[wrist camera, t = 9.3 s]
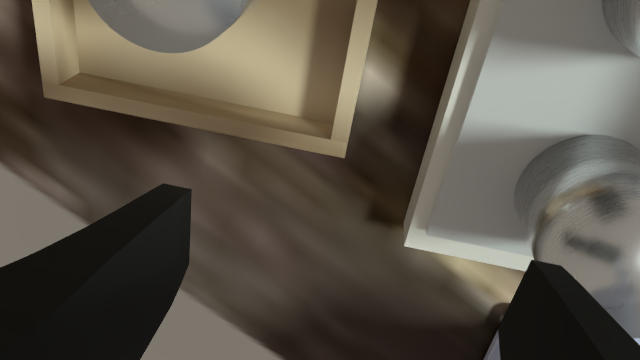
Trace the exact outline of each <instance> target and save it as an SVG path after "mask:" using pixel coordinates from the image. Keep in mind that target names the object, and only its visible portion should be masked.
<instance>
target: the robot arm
mask: <svg viewBox="0 0 640 360" xmlns="http://www.w3.org/2000/svg"><path fill="white" fill-rule="evenodd" d="M191 191H192V189H187V188H183V187H178V186H173V185H168V184H162V185H160V186H158V187H156V188H154V189H152V190H151V191H149V192H147V193H145V194H144V195H142V196H140V197H139V198H137V199H135V200H133V201H132V202H130V203H128V204H126V205H125V206H123V207H121V208H120V209H118V210H116V211H114V212H112V213H111V214H109V215H107V216H105V217H103V218H102V219H100V220H98V221H96V222H94V223H93V224H91V225H89V226H87V227H85V228H84V229H81V230H79V231H77V232H75V233H73V234H71V235H70V236H67V237H65V238H63V239H61V240H60V241H57V242H55V243H53V244H52V245H50V246H47V247H45V248H44V249H42V250H39V251H38V252H35V253H33V254H31V255H29V256H27V257H24V258H22V259H20V260H17V261H15V262H13V263H10V264H8V265H6V266H3V267H1V268H0V360H140V359H141V357H142V355H143V353H144V352H145V350H146V348H147V346H148V345H149V343H150V341H151V340H152V338H153V336H154V335H155V333H156V331H157V329H158V328H159V326H160V324H161V323H162V321H163V319H164V317H165V316H166V314H167V312H168V310H169V309H170V307H171V305H172V303H173V301H174V298H175V296H176V294H177V292H178V289H179V287H180V285H181V282H182V280H183V277H184V275H185V272H186V270H187V268H188V265H189V249H190V220H191ZM483 360H640V338H634V339H633V338H632V337H631V336H630V335H629V334H628V333H627V332H626V331H625V330H624V329H623V328H622V327H621V326H620V325H619V323H618V322H617V321H616V320H615V319H614V318H613V317H612V316H611V315H610V314H609V313H608V312H607V311H606V310H605V309H604V308H603V307H602V306H601V305H600V304H599V303H598V302H597V301H596V300H595V298H594V297H593V296H592V295H591V294H590V293H589V292H588V291H587V290H586V289H585V288H584V287H583V286H582V285H581V284H580V283H579V282H578V281H577V280H576V279H575V278H574V277H573V276H572V275H571V274H570V273H569V272H568V271H567V270H565V269H564V268H563V267H562V266H561V265H556V264H551V263H546V262H541V261H536V260H531V262H530V264H529V266H528V268H527V270H526V272H525V274H524V276H523V278H522V280H521V282H520V285H519V287H518V289H517V291H516V293H515V295H514V297H513V299H512V301H511V303H510V305H509V307H508V309H507V311H506V314H505V316H504V318H503V320H502V322H501V324H500V326H499V328H498V330H497V332H496V334H495V337H494V339H493V341H492V343H491V345H490V347H489V349H488V351H487V353H486V355H485V357H484V359H483Z"/></svg>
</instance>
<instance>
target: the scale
mask: <svg viewBox="0 0 640 360" xmlns="http://www.w3.org/2000/svg"><path fill="white" fill-rule="evenodd" d="M583 135H606V136H612V137H616V138H619V139H622V140H624V141H626V142H628V143H630V144H632V145H633V146H635V147H636V148H637V149H638V150H640V57H638V56H637V55H635V54H634V53H632V52H631V51H630V50H628V49H627V48H625V47H624V46H623V45H622V44H620V43H619V42H618V41H617V40H616V39H615V37H614V36H613V35H612V34H611V32H610V30H609V28H608V27H607V24H606V22H605V19H604V15H603V10H602V0H470V3H469V6H468V10H467V13H466V16H465V20H464V23H463V26H462V30H461V33H460V36H459V40H458V43H457V46H456V50H455V53H454V56H453V60H452V63H451V66H450V70H449V73H448V76H447V80H446V83H445V86H444V90H443V93H442V96H441V100H440V103H439V106H438V110H437V113H436V116H435V120H434V123H433V126H432V130H431V133H430V136H429V140H428V143H427V146H426V150H425V153H424V156H423V159H422V163H421V166H420V169H419V173H418V176H417V179H416V183H415V186H414V189H413V193H412V196H411V199H410V203H409V206H408V209H407V213H406V216H405V219H404V223H403V226H404V246H406V247H411V248H416V249H421V250H425V251H430V252H435V253H440V254H445V255H450V256H454V257H459V258H464V259H469V260H474V261H479V262H483V263H488V264H493V265H498V266H503V267H508V268H512V269H517V270H522V271H526V270H527V268H528V266H529V264H530V262H531V260H534V258H533V255H532V252H531V250H530V247H529V244H528V242H527V239H526V236H525V234H524V231H523V228H522V226H521V223H520V220H519V218H518V215H517V212H516V209H515V203H514V194H515V188H516V185H517V182H518V179H519V177H520V175H521V173H522V172H523V170H524V169H525V168H526V166H527V165H528V164H529V163H530V162H531V161H532V160H533V159H534V158H535V157H536V156H537V155H538V154H540V153H541V152H542V151H544V150H545V149H547V148H548V147H550V146H552V145H554V144H556V143H558V142H561V141H563V140H566V139H569V138H572V137H577V136H583Z"/></svg>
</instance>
